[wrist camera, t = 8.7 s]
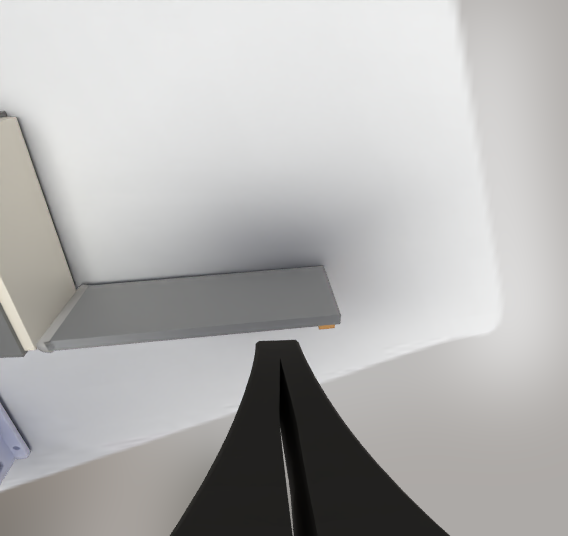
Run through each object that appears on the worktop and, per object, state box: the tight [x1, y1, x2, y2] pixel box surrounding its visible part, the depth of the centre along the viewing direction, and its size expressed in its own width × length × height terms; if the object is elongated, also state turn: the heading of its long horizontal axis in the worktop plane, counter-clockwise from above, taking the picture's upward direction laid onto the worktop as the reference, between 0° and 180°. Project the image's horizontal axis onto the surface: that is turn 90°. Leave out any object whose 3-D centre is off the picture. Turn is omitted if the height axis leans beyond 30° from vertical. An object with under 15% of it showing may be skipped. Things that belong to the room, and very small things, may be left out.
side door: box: [36, 266, 341, 353], centre depth 18 cm, size 14×1×5 cm, turn 93°
